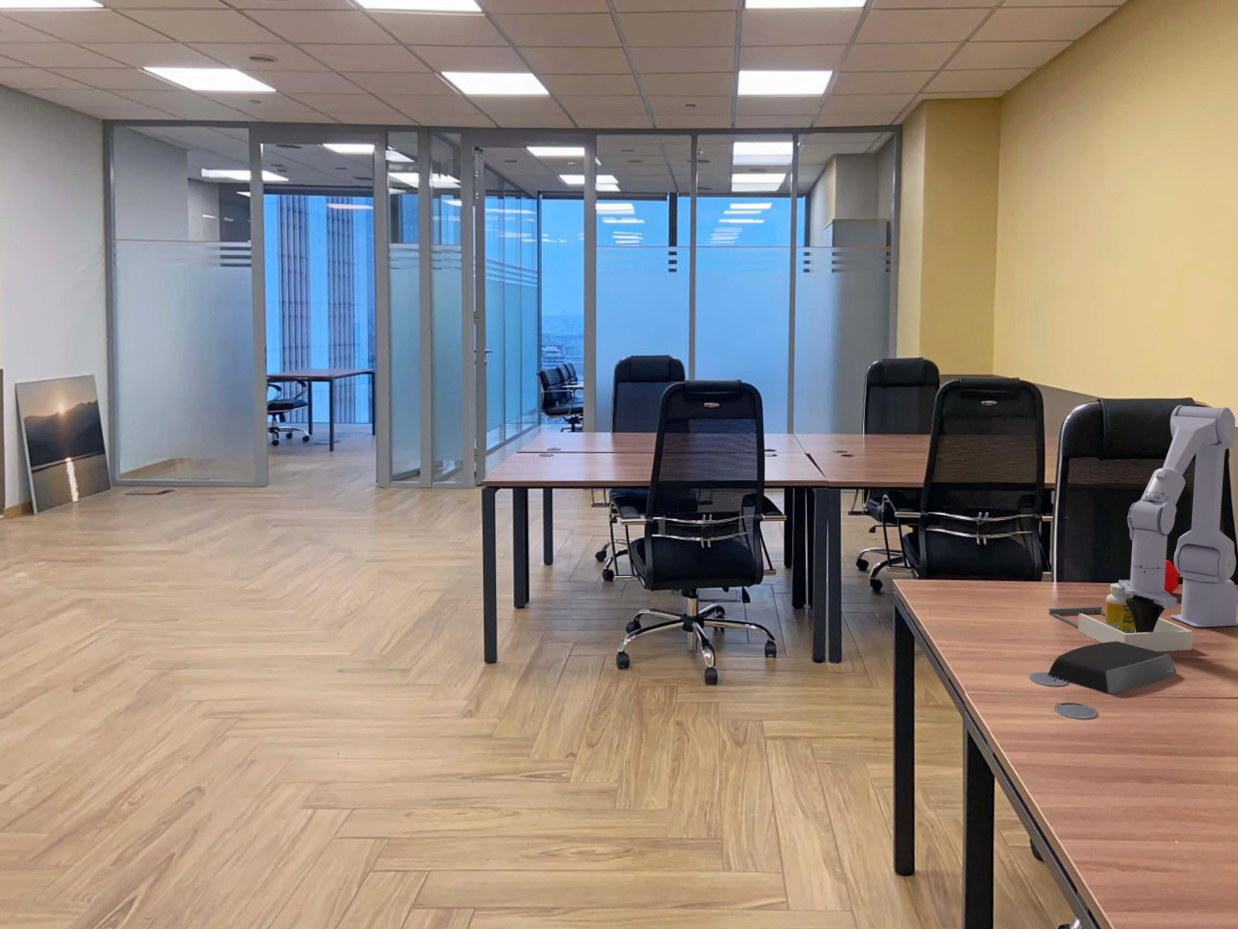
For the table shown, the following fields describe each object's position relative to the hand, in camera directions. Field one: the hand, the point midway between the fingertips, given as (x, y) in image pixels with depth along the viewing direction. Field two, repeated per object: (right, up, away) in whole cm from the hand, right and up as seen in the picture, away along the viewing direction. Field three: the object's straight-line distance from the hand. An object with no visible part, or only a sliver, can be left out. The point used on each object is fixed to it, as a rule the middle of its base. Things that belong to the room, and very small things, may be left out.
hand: (1144, 637), depth 204 cm
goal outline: (-3, +1, +17) cm, 18 cm away
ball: (+21, +3, +39) cm, 45 cm away
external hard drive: (-13, -4, -17) cm, 22 cm away
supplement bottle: (-1, -1, +8) cm, 8 cm away
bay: (-1, -1, +4) cm, 4 cm away
